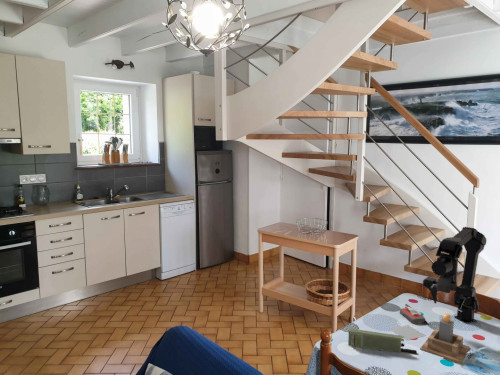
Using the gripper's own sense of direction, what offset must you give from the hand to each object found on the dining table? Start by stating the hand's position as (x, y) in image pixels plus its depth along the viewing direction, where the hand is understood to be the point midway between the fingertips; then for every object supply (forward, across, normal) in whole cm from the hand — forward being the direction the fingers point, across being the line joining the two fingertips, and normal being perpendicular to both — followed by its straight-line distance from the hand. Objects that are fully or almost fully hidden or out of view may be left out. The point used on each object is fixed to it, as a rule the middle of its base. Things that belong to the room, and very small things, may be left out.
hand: (447, 306), depth 159 cm
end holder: (+12, +4, -14) cm, 18 cm away
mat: (+12, -12, -10) cm, 20 cm away
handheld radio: (+12, -14, -30) cm, 36 cm away
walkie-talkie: (+13, -17, +8) cm, 23 cm away
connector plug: (+11, +4, -14) cm, 18 cm away
